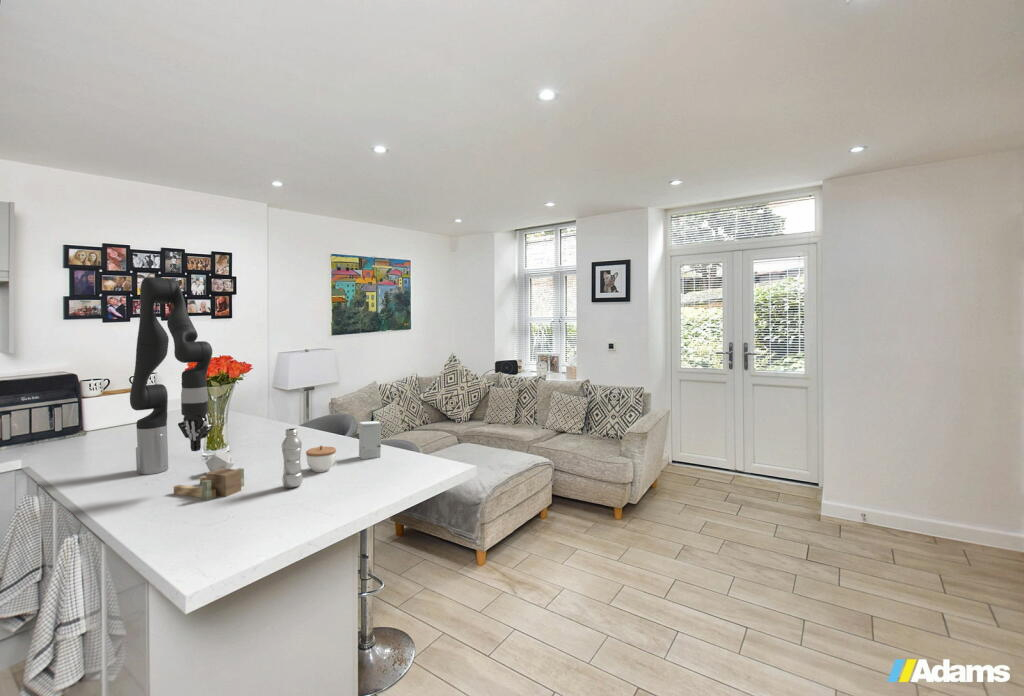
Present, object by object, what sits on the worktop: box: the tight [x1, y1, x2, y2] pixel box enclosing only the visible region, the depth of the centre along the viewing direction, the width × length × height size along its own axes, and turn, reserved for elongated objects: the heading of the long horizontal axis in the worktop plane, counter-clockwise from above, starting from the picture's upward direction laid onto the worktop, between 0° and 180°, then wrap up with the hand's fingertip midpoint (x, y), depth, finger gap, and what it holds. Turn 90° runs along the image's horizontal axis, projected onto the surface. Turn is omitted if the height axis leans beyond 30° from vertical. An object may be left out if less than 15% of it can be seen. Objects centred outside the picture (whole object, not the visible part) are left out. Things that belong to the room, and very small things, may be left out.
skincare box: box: [358, 420, 382, 460], centre depth 200 cm, size 8×6×15 cm
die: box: [205, 451, 236, 472], centre depth 178 cm, size 8×9×10 cm
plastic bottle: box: [281, 427, 303, 489], centre depth 163 cm, size 6×7×20 cm
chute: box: [173, 467, 245, 501], centre depth 160 cm, size 16×14×6 cm
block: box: [205, 468, 242, 497], centre depth 158 cm, size 8×6×7 cm
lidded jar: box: [305, 445, 337, 473], centre depth 182 cm, size 11×11×9 cm
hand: (195, 450), depth 160 cm, fingers closed
